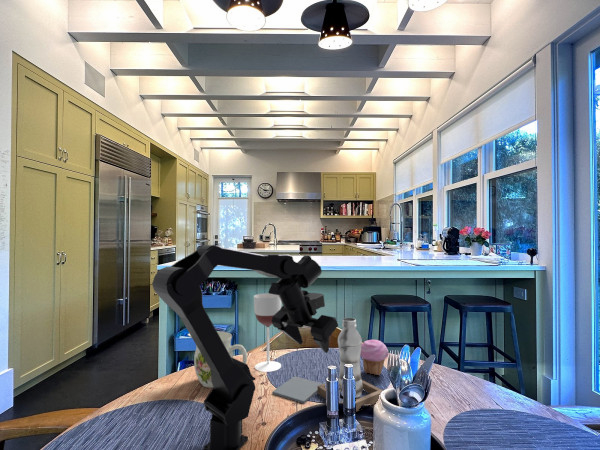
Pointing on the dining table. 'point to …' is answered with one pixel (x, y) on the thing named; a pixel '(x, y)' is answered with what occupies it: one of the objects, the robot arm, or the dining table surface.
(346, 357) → the plastic bottle
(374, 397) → the caddy frame
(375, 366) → the cupcake
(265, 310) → the wineglass
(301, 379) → the slate mat
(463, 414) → the dining table surface
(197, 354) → the pitcher
